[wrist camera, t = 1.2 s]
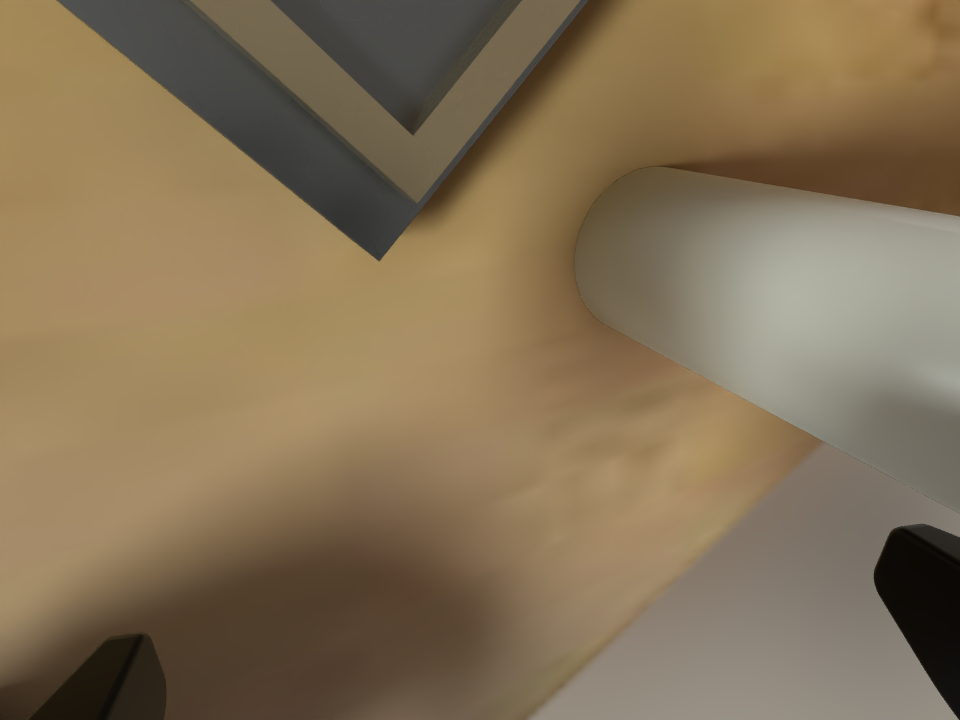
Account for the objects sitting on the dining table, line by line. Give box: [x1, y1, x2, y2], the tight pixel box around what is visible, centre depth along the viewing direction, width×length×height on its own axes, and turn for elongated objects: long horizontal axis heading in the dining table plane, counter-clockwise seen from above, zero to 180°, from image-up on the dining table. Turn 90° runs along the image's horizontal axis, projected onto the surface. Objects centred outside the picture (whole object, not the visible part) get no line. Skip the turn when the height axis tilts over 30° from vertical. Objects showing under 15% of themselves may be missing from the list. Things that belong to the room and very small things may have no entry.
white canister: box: [574, 167, 960, 514], centre depth 17 cm, size 5×5×14 cm
